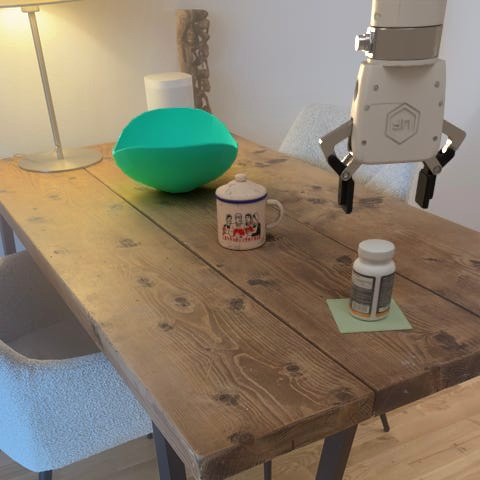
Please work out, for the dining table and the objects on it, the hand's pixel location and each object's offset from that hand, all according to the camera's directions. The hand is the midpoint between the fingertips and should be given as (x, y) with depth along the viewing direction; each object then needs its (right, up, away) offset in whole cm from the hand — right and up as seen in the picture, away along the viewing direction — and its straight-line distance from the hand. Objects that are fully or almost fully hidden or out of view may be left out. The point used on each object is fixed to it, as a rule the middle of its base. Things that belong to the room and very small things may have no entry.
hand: (383, 207), depth 71 cm
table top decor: (-32, +27, +58) cm, 72 cm away
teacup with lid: (-16, +6, +32) cm, 36 cm away
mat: (0, -12, +9) cm, 15 cm away
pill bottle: (0, -12, +9) cm, 15 cm away
